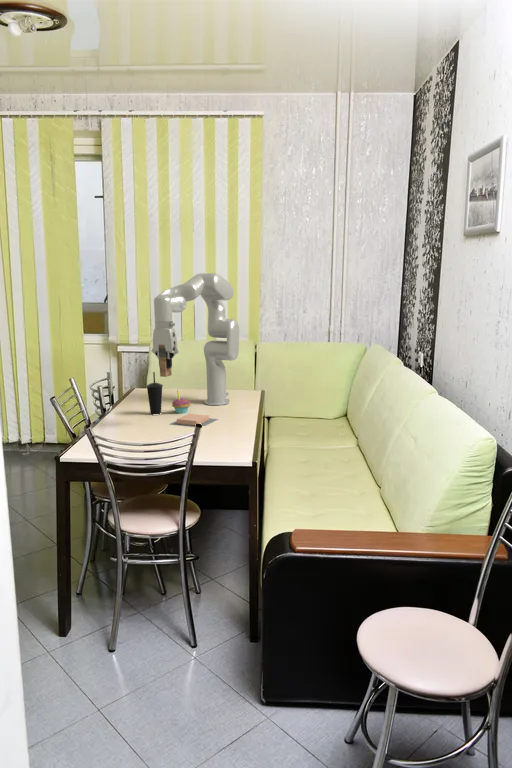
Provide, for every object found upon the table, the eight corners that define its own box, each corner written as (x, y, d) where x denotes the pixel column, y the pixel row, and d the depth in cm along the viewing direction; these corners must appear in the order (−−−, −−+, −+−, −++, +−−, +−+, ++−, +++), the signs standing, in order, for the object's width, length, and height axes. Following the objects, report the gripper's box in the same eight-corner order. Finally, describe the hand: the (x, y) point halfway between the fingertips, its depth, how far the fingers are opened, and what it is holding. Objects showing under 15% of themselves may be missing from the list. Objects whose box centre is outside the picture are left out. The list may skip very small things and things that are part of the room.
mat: (187, 417, 284) (187, 416, 284) (218, 420, 278) (218, 419, 277) (168, 425, 270) (168, 424, 270) (200, 429, 263) (200, 427, 263)
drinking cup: (161, 411, 297) (159, 370, 294) (165, 414, 290) (164, 372, 287) (146, 412, 295) (143, 371, 291) (149, 416, 288) (147, 373, 284)
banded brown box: (165, 374, 273) (164, 343, 271) (171, 375, 272) (170, 343, 269) (159, 376, 269) (158, 344, 267) (166, 376, 268) (164, 344, 265)
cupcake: (181, 416, 287) (180, 390, 284) (168, 414, 292) (167, 389, 289) (194, 412, 293) (193, 387, 291) (181, 410, 298) (180, 386, 296)
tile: (189, 413, 280) (176, 419, 270) (209, 415, 275) (196, 421, 266) (189, 418, 280) (176, 424, 270) (209, 420, 276) (196, 426, 266)
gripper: (184, 325, 267) (186, 367, 270) (152, 324, 273) (154, 365, 277) (175, 326, 260) (177, 370, 263) (142, 325, 267) (145, 368, 270)
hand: (165, 367), depth 270 cm, fingers closed on banded brown box, 3 cm apart
